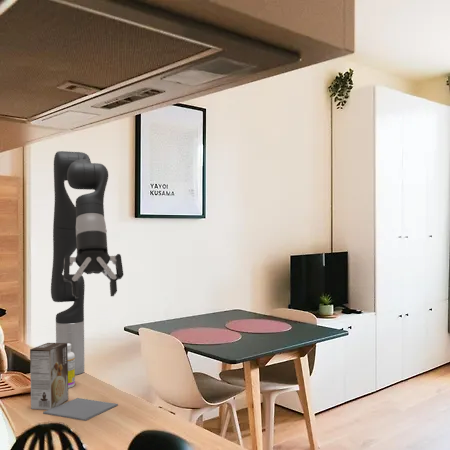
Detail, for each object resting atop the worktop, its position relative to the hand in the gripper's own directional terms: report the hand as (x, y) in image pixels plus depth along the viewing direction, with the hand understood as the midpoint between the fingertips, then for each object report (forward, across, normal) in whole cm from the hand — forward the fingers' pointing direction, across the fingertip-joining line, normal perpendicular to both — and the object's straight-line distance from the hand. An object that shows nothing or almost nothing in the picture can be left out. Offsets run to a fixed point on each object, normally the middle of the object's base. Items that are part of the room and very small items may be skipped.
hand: (95, 296), depth 129 cm
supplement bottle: (+17, +5, -47) cm, 50 cm away
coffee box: (+22, +10, -31) cm, 39 cm away
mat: (+25, +2, -23) cm, 34 cm away
